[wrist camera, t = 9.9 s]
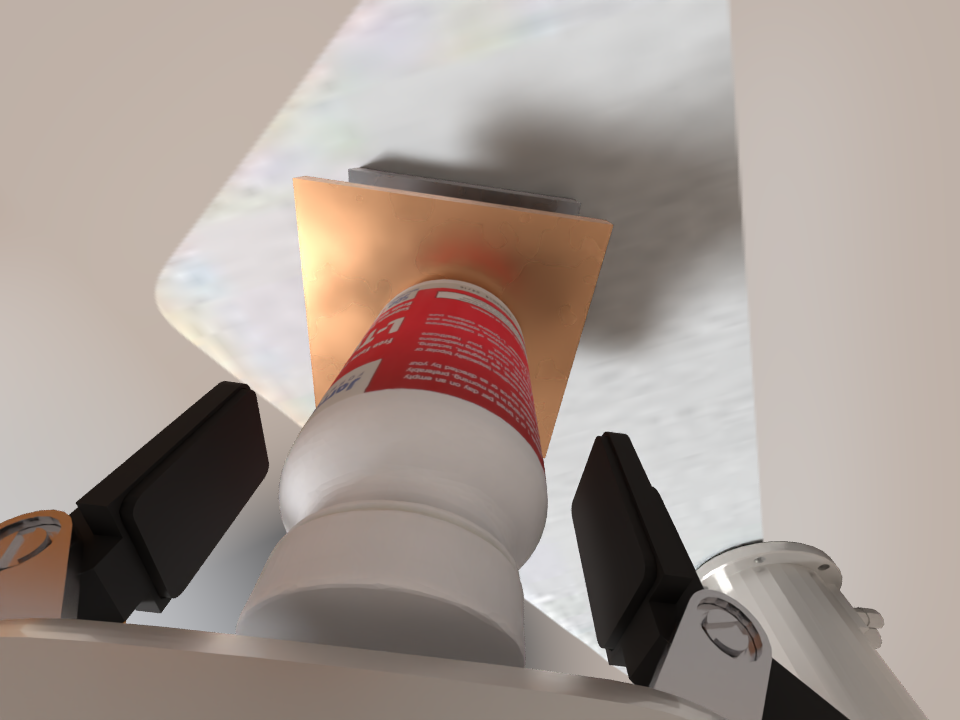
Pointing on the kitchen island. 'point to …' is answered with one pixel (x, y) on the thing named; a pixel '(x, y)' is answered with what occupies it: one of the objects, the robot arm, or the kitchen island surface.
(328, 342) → the stand
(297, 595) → the pill bottle
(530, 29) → the kitchen island surface
